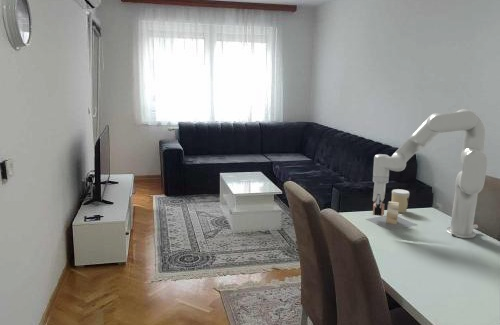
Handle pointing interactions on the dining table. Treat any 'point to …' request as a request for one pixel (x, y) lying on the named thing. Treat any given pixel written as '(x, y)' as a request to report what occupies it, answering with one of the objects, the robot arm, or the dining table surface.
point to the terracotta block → (381, 210)
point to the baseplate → (382, 222)
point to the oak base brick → (391, 218)
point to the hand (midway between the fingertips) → (378, 213)
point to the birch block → (393, 208)
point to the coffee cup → (401, 199)
